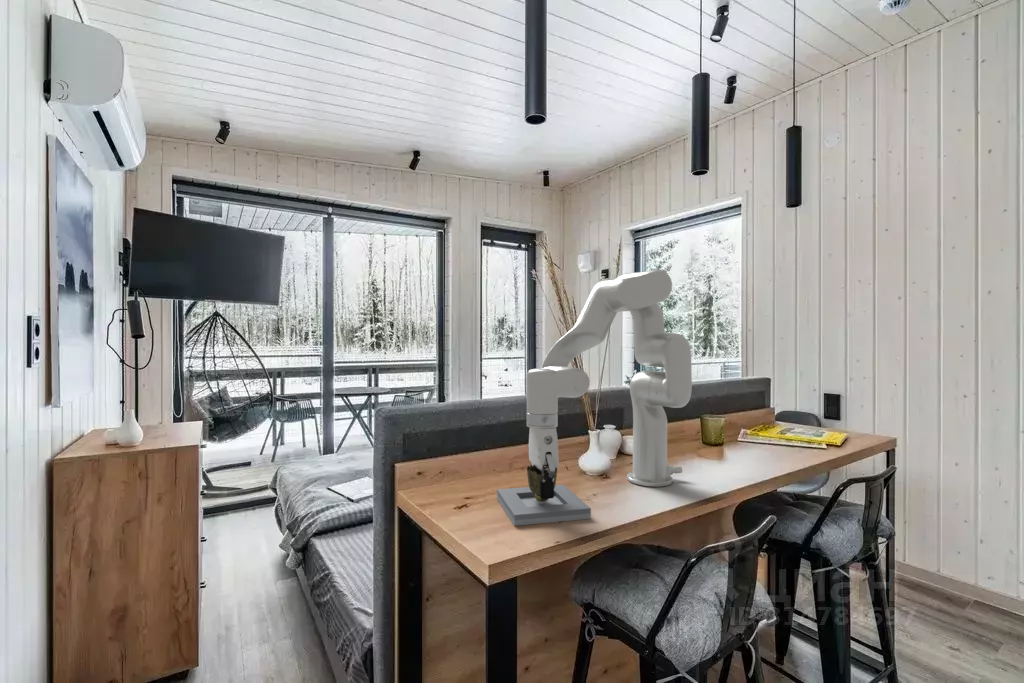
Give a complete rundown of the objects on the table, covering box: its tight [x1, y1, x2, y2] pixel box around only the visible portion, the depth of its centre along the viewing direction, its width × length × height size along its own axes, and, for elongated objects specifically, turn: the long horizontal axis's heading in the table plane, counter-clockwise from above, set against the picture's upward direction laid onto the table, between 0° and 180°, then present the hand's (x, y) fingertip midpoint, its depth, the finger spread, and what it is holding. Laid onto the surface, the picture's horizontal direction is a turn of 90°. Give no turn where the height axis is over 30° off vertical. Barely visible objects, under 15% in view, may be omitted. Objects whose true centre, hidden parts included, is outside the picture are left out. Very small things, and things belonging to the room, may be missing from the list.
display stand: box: [496, 484, 592, 527], centre depth 118 cm, size 18×18×2 cm
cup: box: [526, 464, 558, 502], centre depth 118 cm, size 8×7×8 cm
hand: (542, 492), depth 118 cm, fingers closed on cup, 6 cm apart
